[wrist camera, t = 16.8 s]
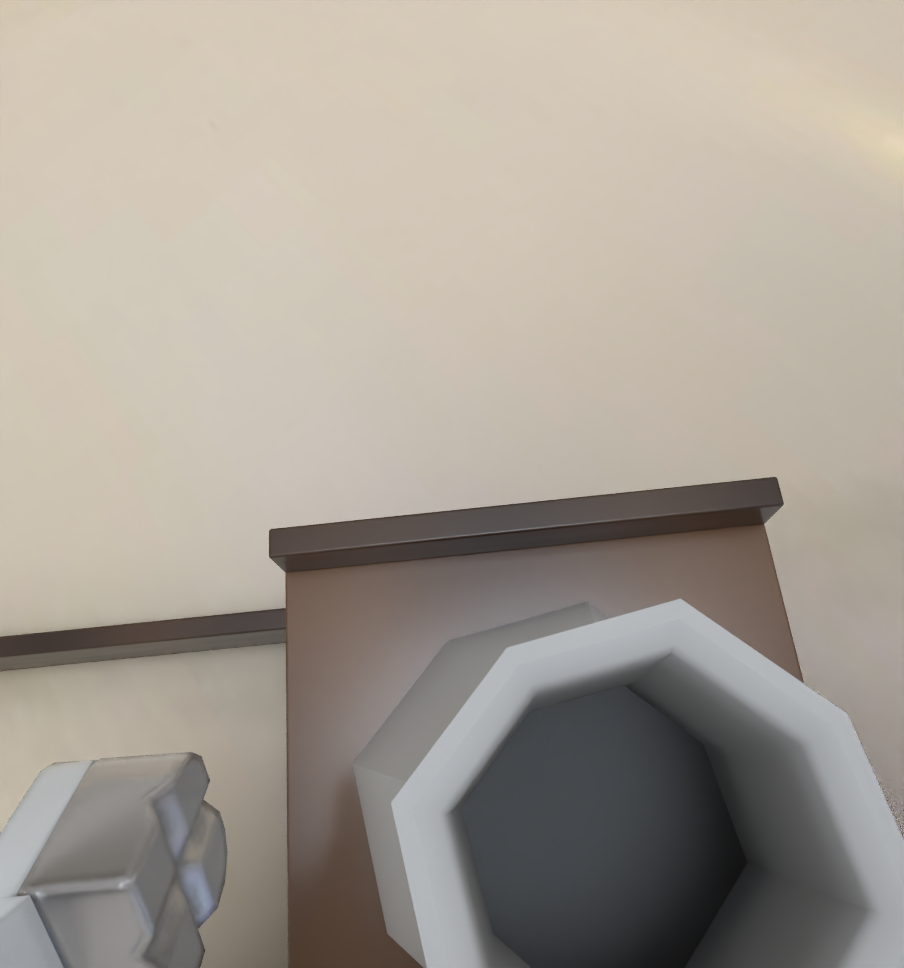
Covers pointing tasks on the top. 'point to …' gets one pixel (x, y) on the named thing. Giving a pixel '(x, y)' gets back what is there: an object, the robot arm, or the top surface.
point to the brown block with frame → (442, 643)
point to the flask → (627, 805)
